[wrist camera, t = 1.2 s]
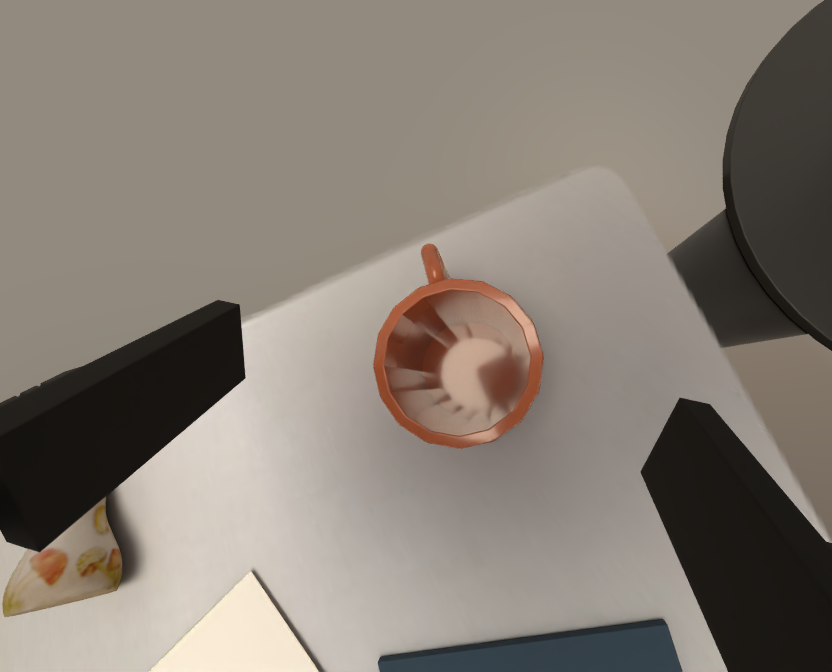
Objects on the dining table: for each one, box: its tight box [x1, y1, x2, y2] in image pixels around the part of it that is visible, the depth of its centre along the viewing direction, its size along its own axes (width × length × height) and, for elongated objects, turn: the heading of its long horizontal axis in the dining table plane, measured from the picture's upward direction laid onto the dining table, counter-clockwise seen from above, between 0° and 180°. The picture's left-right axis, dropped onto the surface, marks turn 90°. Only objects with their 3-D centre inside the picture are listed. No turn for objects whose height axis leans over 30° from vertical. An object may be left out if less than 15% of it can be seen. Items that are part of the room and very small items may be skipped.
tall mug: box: [373, 244, 543, 449], centre depth 25 cm, size 11×8×11 cm
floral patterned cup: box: [3, 497, 122, 617], centre depth 32 cm, size 8×10×10 cm
